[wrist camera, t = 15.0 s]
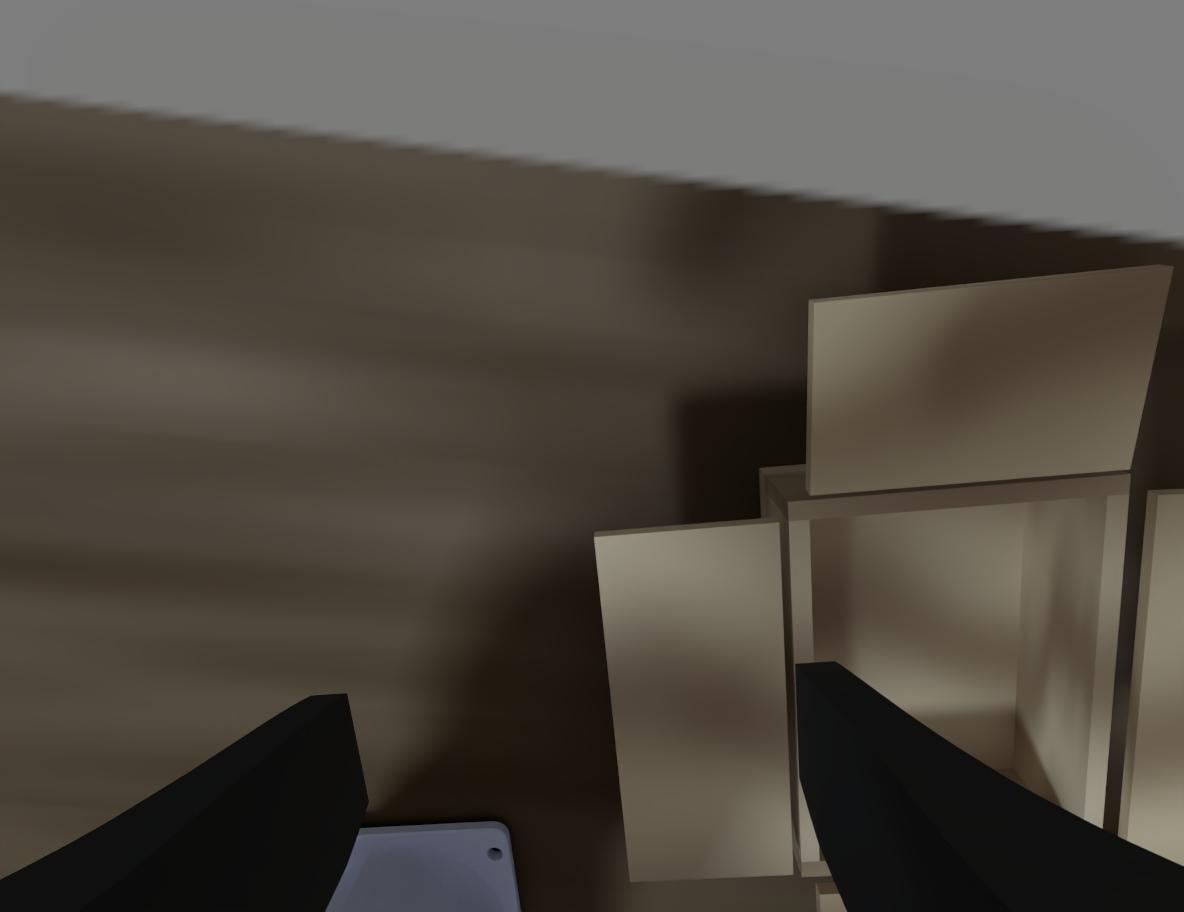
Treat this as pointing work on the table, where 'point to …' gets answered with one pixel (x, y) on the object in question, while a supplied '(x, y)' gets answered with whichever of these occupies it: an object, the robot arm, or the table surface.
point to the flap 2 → (1157, 688)
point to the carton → (856, 651)
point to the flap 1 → (980, 379)
